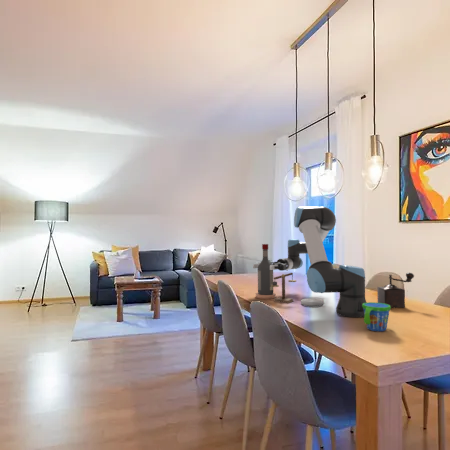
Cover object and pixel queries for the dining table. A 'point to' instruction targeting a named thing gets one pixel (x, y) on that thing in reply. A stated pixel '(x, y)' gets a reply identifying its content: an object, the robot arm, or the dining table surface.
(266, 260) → the liquor
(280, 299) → the balance
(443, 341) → the dining table surface
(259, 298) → the terracotta dish
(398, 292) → the manual coffee grinder
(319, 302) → the grey dish
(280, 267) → the robot arm
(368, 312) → the snack cup
